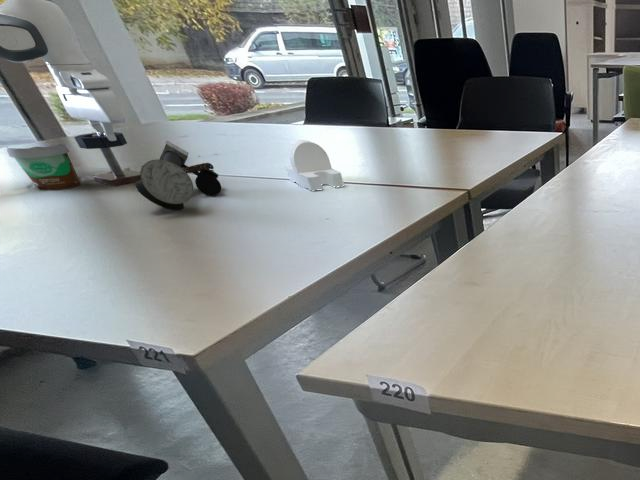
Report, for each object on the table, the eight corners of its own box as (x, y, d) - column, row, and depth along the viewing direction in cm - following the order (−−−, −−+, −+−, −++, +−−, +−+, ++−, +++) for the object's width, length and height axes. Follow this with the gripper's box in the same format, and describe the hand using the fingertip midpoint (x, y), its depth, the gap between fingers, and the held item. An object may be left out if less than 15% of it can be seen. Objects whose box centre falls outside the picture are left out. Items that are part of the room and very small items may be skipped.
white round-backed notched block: (312, 191, 142) (298, 148, 135) (289, 179, 152) (274, 138, 145) (345, 186, 148) (334, 144, 141) (321, 175, 157) (309, 135, 150)
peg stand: (114, 185, 143) (88, 138, 135) (95, 182, 145) (69, 135, 138) (148, 179, 149) (125, 134, 141) (129, 175, 152) (106, 131, 144)
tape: (94, 149, 136) (88, 139, 135) (73, 147, 140) (67, 136, 138) (133, 144, 143) (128, 133, 142) (113, 141, 147) (107, 131, 145)
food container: (29, 193, 135) (2, 150, 128) (30, 188, 138) (3, 146, 132) (88, 187, 141) (64, 146, 135) (87, 182, 145) (64, 142, 138)
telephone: (207, 237, 128) (209, 204, 147) (228, 193, 125) (227, 165, 144) (128, 199, 117) (141, 169, 136) (149, 149, 114) (159, 126, 133)
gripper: (39, 76, 131) (74, 138, 140) (84, 81, 125) (118, 145, 134) (67, 74, 135) (99, 134, 144) (112, 79, 129) (143, 141, 138)
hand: (108, 140), depth 139 cm, fingers closed on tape, 2 cm apart
